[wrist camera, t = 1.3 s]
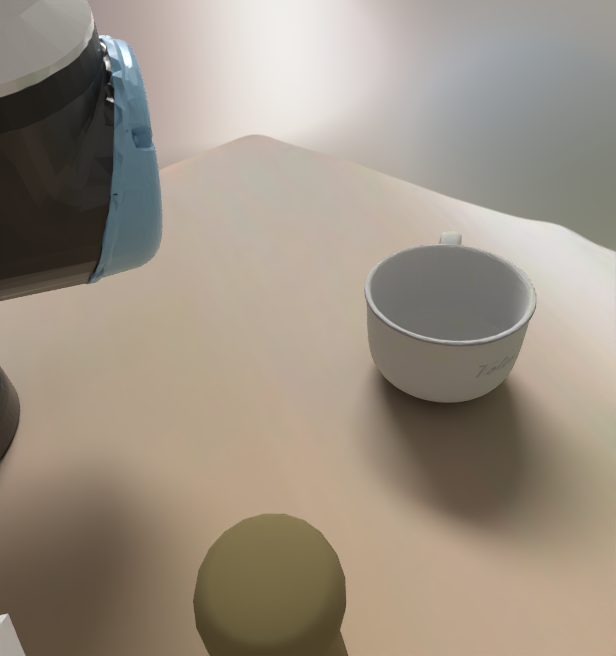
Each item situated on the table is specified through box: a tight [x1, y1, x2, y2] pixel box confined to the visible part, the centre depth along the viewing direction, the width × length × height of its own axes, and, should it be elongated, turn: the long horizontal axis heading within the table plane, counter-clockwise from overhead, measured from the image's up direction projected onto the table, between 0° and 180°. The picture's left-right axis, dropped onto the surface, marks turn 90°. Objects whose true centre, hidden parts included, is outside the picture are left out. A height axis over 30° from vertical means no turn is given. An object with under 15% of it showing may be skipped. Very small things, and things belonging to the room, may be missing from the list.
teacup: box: [365, 232, 536, 403], centre depth 36 cm, size 14×11×8 cm
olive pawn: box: [193, 514, 348, 656], centre depth 19 cm, size 6×6×11 cm
